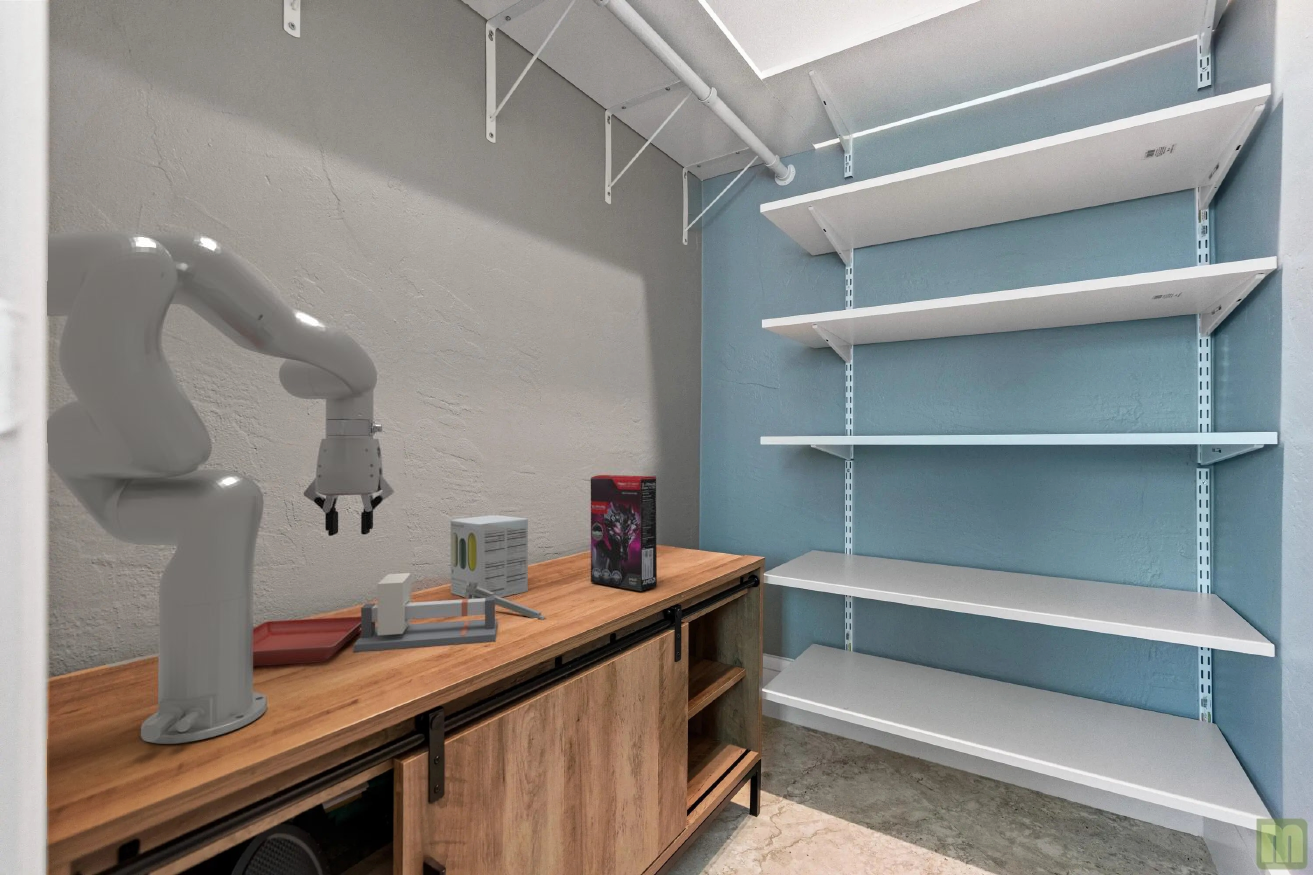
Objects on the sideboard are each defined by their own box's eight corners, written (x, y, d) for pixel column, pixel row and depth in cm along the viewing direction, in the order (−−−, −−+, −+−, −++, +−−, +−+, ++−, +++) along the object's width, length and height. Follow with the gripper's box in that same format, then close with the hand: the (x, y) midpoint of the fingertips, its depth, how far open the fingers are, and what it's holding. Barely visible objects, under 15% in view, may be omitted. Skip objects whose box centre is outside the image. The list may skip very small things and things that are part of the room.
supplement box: (448, 593, 139) (448, 519, 139) (496, 583, 149) (496, 514, 149) (481, 602, 130) (481, 523, 131) (529, 591, 140) (529, 518, 141)
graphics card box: (588, 583, 148) (587, 475, 149) (606, 578, 154) (606, 474, 154) (641, 593, 138) (640, 477, 138) (659, 587, 143) (658, 475, 144)
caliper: (464, 609, 126) (464, 580, 126) (468, 608, 127) (468, 579, 127) (543, 621, 117) (543, 589, 117) (546, 619, 118) (546, 588, 118)
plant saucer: (264, 637, 108) (265, 619, 108) (369, 632, 111) (369, 614, 111) (206, 675, 90) (207, 653, 90) (333, 667, 93) (333, 646, 93)
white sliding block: (402, 633, 102) (402, 582, 102) (377, 635, 101) (377, 583, 101) (411, 620, 110) (411, 572, 110) (387, 621, 109) (388, 574, 109)
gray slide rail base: (495, 641, 104) (494, 604, 104) (353, 651, 99) (353, 613, 99) (497, 624, 114) (497, 591, 114) (368, 633, 109) (368, 598, 109)
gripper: (405, 431, 110) (405, 529, 109) (304, 431, 106) (304, 532, 106) (396, 430, 102) (396, 535, 102) (288, 430, 99) (287, 539, 98)
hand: (349, 532), depth 104 cm, fingers open, 4 cm apart
